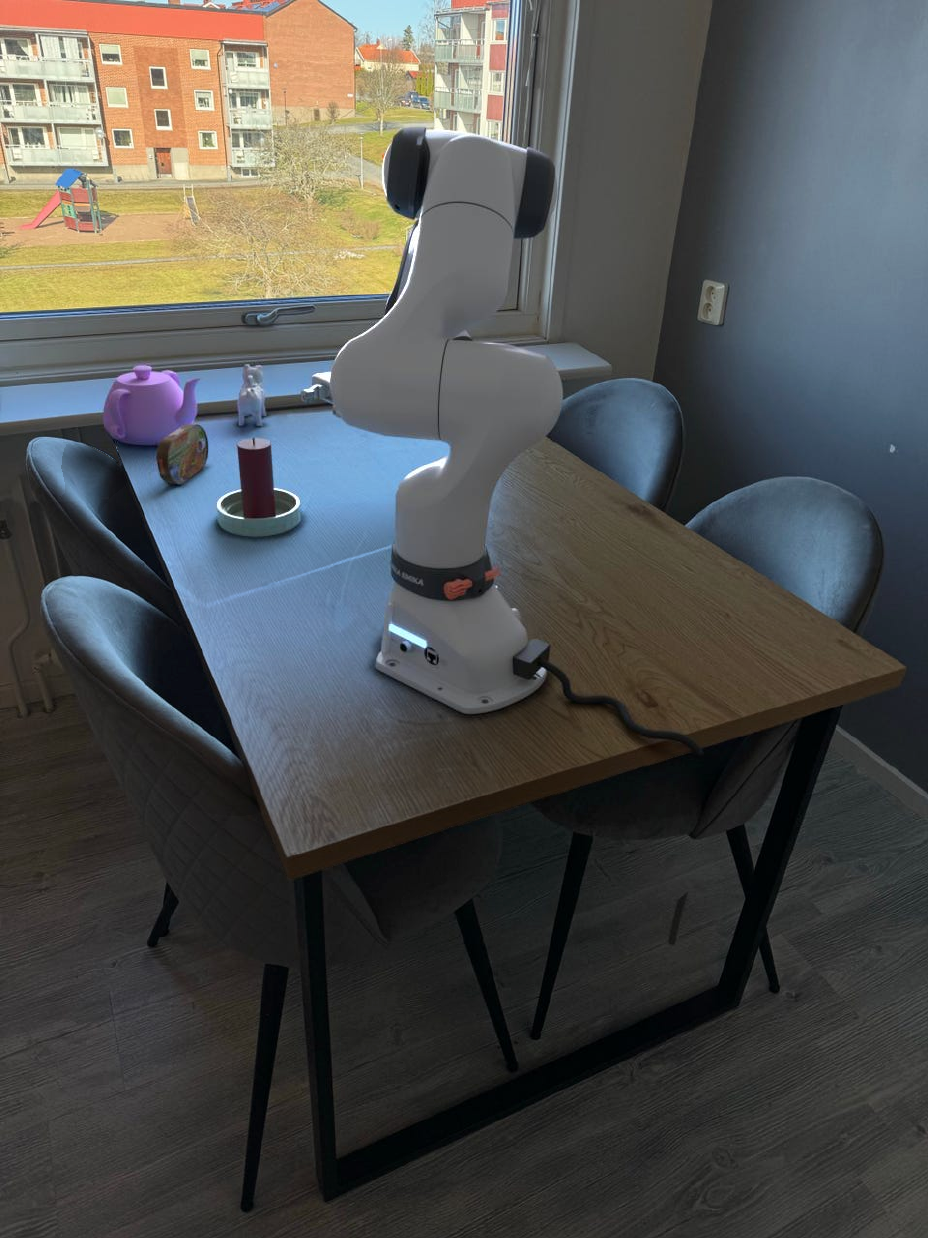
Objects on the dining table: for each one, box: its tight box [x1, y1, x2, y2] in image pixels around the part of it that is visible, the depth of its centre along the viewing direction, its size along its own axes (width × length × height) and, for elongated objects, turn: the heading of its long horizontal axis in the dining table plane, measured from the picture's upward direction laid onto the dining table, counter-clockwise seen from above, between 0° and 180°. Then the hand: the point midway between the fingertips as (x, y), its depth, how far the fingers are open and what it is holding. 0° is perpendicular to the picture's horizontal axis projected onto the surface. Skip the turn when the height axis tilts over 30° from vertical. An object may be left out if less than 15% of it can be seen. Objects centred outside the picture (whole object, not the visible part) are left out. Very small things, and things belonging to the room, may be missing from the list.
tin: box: [155, 423, 209, 485], centre depth 158 cm, size 15×3×8 cm, turn 168°
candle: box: [236, 437, 276, 519], centre depth 141 cm, size 5×5×14 cm
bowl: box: [216, 487, 302, 538], centre depth 144 cm, size 13×13×3 cm
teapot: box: [102, 365, 202, 446], centre depth 172 cm, size 22×22×14 cm
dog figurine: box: [236, 363, 267, 427], centre depth 186 cm, size 5×13×11 cm, turn 6°
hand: (318, 404), depth 143 cm, fingers open, 8 cm apart
